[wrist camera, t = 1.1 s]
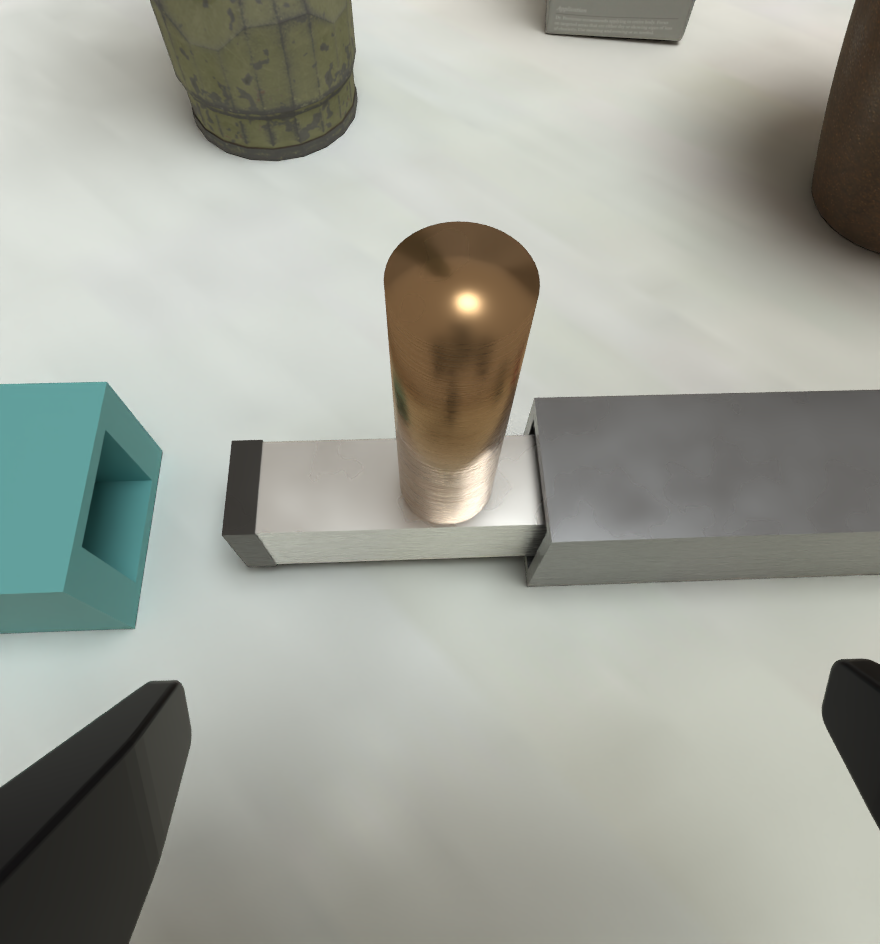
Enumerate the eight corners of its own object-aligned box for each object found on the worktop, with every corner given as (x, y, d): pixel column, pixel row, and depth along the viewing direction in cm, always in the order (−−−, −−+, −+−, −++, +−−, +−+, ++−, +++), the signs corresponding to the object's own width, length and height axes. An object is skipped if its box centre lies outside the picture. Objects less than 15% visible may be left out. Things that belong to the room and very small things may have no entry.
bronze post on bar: (825, 465, 25) (1161, 207, 14) (852, 546, 24) (1250, 333, 12) (255, 481, 24) (106, 220, 13) (248, 566, 23) (73, 358, 11)
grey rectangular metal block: (855, 454, 26) (945, 388, 22) (897, 573, 24) (1006, 527, 20) (514, 463, 26) (534, 397, 21) (527, 586, 24) (552, 542, 19)
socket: (162, 451, 26) (106, 381, 21) (134, 628, 23) (62, 592, 18) (-19, 455, 25) (-114, 386, 21) (-71, 636, 22) (-195, 601, 18)
